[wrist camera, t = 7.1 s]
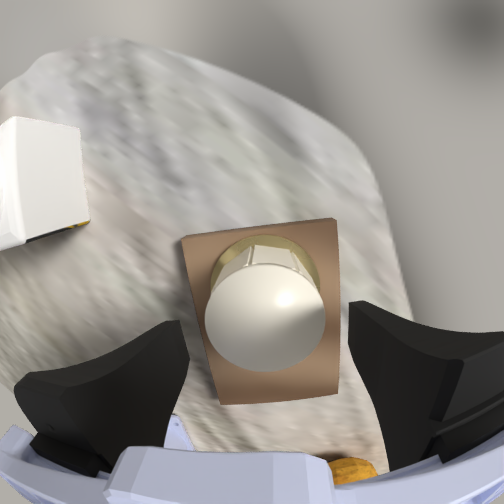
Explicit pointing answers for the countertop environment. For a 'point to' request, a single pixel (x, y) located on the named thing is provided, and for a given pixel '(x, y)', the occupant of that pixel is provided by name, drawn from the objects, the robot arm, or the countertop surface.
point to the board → (327, 263)
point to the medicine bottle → (40, 180)
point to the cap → (265, 311)
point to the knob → (270, 242)
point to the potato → (351, 470)
